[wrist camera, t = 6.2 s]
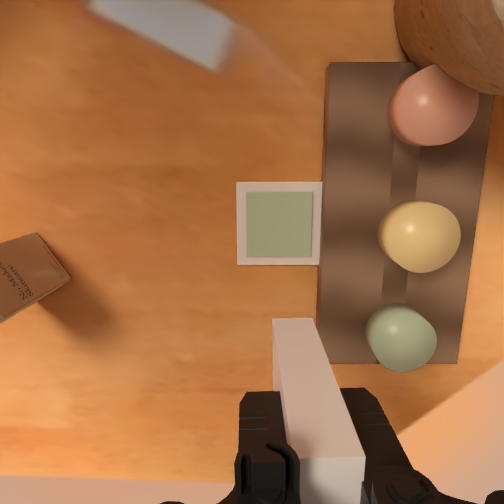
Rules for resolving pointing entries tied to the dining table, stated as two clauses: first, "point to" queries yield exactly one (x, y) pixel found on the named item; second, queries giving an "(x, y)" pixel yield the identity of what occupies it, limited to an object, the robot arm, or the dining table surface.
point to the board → (379, 202)
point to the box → (27, 274)
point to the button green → (400, 337)
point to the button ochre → (419, 235)
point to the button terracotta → (431, 108)
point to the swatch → (278, 222)
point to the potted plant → (456, 39)
